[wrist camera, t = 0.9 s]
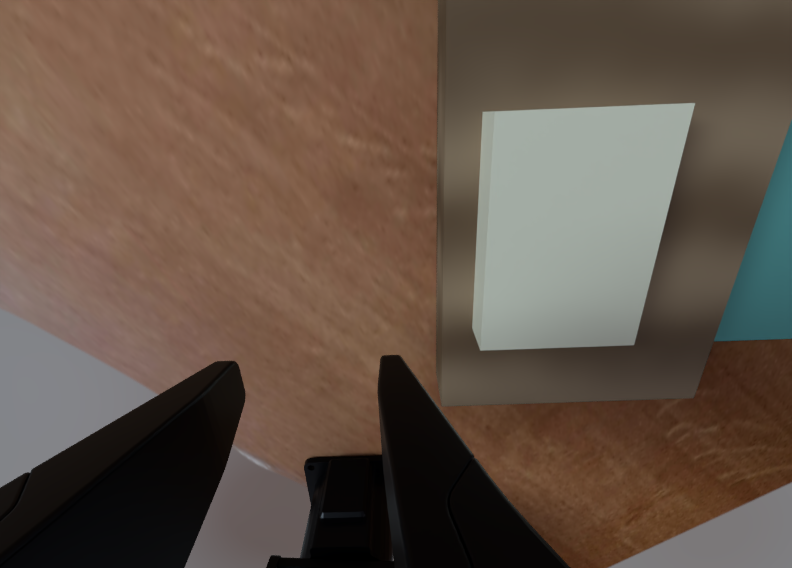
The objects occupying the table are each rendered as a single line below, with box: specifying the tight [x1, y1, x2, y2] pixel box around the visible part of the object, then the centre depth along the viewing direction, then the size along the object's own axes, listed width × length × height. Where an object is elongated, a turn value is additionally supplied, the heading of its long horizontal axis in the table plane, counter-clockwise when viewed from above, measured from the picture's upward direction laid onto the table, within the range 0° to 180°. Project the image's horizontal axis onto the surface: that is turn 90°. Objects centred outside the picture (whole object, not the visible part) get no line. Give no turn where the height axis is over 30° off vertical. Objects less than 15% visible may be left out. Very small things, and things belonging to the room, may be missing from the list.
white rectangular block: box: [472, 103, 695, 351], centre depth 16 cm, size 10×7×2 cm
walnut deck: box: [436, 0, 792, 406], centre depth 19 cm, size 20×14×3 cm
